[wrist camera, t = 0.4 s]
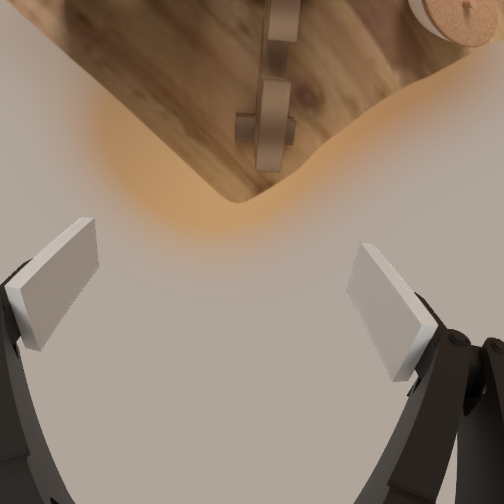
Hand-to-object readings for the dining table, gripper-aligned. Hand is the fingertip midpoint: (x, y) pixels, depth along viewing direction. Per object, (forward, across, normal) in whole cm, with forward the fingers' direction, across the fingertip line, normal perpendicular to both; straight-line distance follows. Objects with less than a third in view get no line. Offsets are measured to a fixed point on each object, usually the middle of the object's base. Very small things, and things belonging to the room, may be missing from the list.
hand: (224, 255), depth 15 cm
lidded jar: (+21, +21, +27) cm, 40 cm away
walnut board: (+24, +3, +14) cm, 28 cm away
